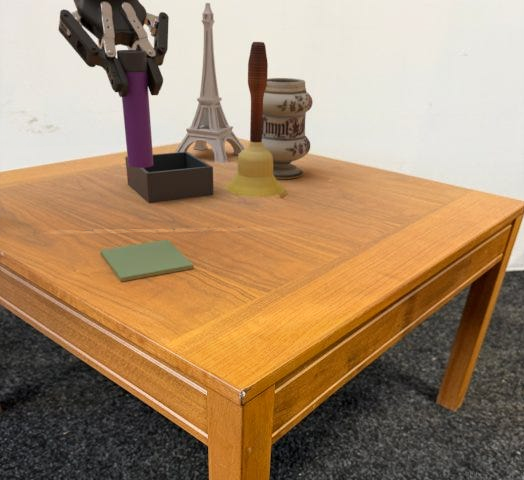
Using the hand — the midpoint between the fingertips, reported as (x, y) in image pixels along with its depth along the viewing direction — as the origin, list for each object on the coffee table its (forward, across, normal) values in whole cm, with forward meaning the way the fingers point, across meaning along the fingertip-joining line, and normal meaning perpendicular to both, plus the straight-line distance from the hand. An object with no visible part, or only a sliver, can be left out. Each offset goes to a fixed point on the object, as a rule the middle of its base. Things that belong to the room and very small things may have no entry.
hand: (141, 91), depth 65 cm
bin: (-4, +15, +34) cm, 37 cm away
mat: (+15, -1, +15) cm, 22 cm away
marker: (+5, 0, +8) cm, 9 cm away
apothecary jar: (-6, +42, +36) cm, 55 cm away
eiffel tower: (-19, +35, +50) cm, 64 cm away
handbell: (+1, +30, +30) cm, 42 cm away
